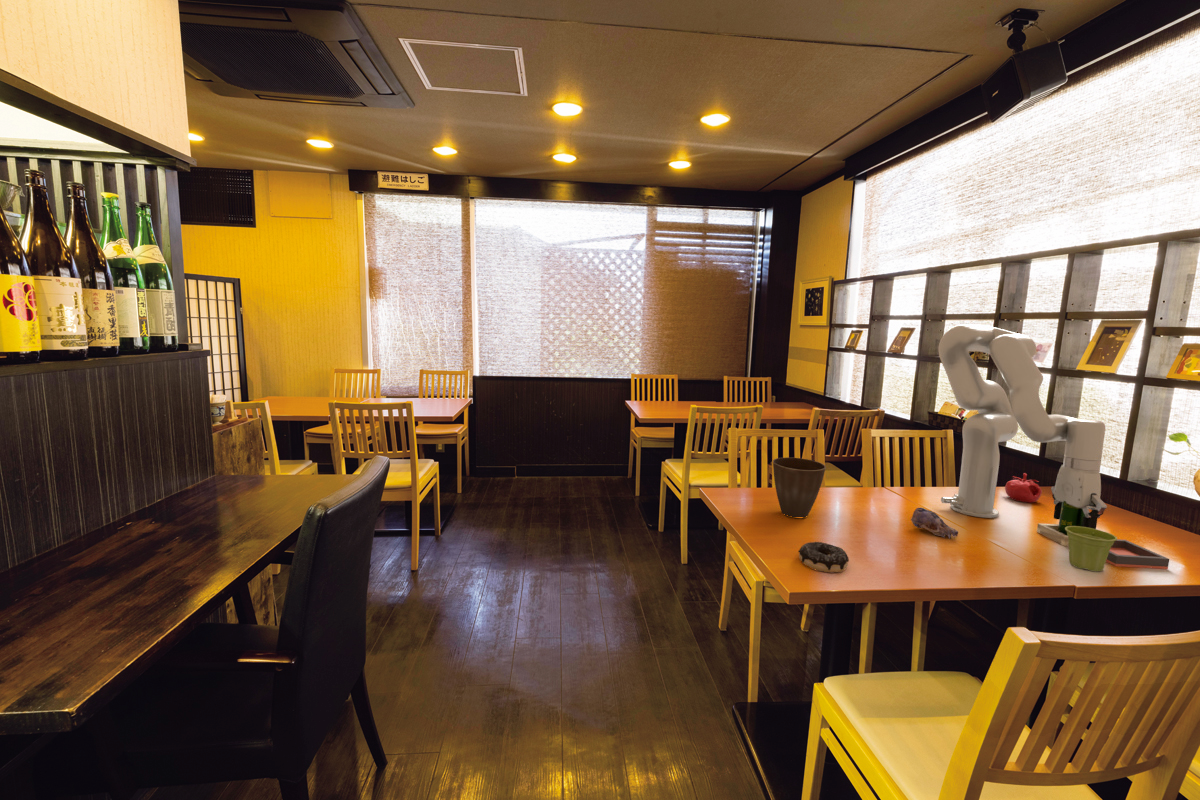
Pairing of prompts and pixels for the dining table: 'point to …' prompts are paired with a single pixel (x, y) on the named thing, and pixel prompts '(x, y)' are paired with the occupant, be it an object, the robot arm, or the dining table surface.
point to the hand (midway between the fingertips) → (1073, 525)
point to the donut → (823, 557)
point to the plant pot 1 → (797, 484)
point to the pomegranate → (1023, 490)
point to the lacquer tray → (1135, 556)
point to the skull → (932, 523)
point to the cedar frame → (1053, 533)
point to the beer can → (1070, 517)
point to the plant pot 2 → (1088, 547)
